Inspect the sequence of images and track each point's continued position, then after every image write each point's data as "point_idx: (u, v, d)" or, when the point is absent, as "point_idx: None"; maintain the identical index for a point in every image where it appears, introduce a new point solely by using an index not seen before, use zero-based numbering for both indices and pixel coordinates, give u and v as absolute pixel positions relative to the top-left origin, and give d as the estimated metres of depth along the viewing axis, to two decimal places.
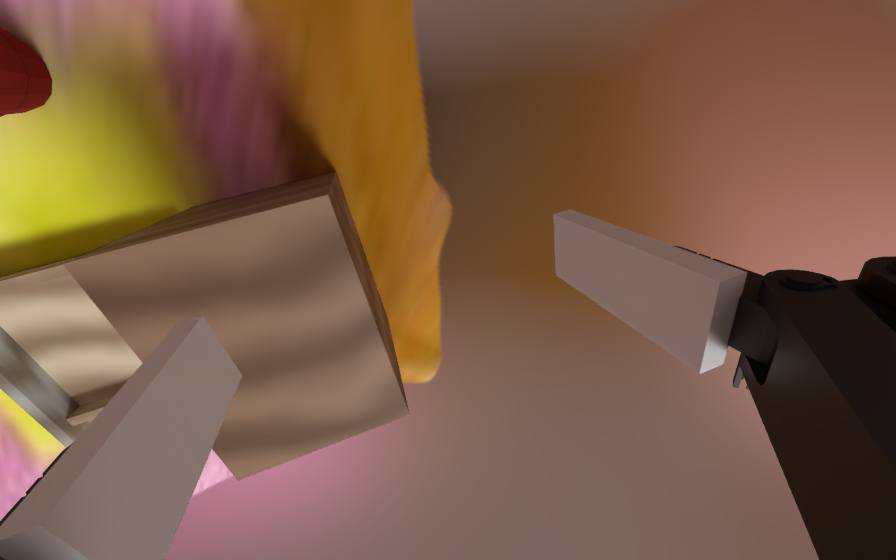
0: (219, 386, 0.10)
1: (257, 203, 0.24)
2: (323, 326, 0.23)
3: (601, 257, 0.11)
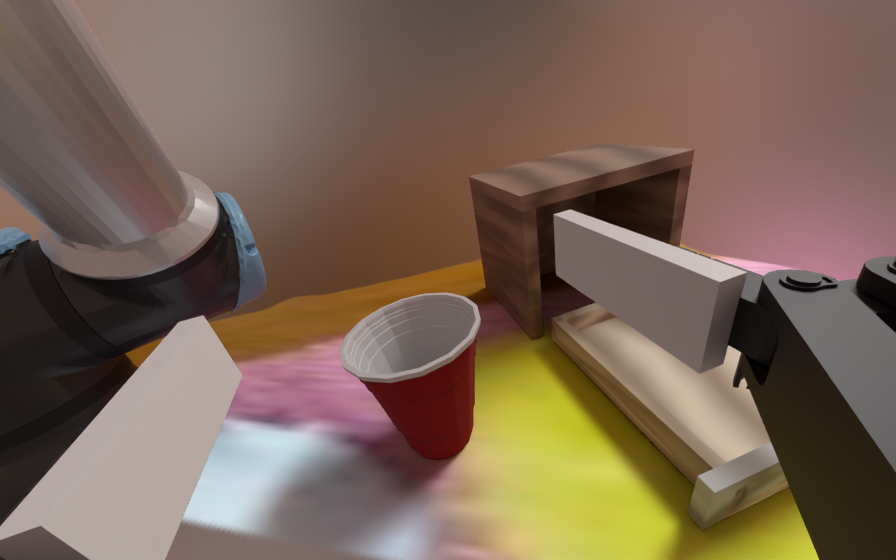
0: (219, 386, 0.10)
1: (489, 223, 0.41)
2: (541, 163, 0.41)
3: (601, 257, 0.11)
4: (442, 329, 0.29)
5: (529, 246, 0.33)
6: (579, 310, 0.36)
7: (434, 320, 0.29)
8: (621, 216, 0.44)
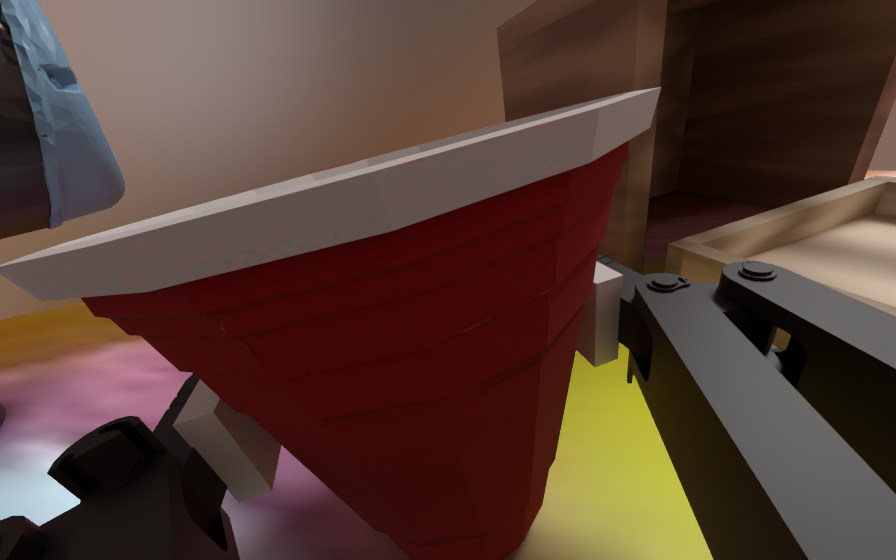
0: None
1: (535, 95, 0.23)
2: None
3: None
4: None
5: (643, 76, 0.15)
6: (721, 229, 0.19)
7: None
8: (747, 98, 0.27)
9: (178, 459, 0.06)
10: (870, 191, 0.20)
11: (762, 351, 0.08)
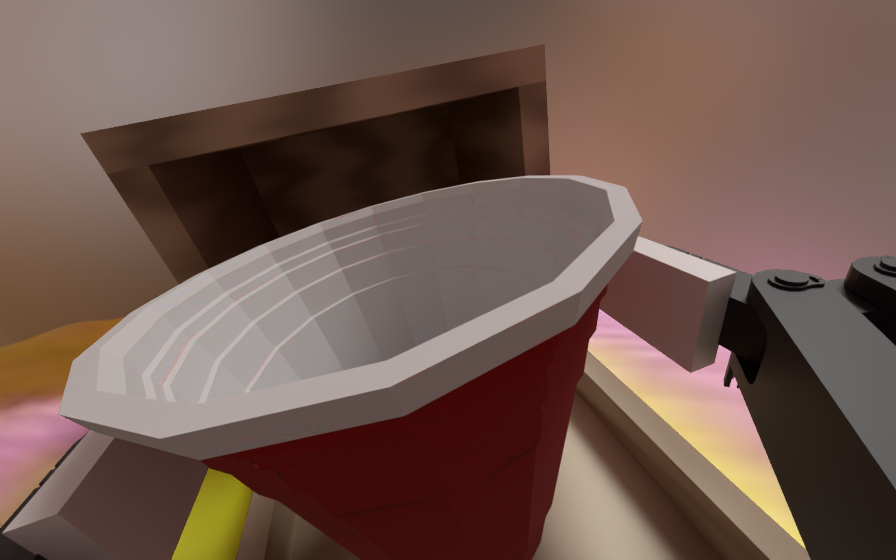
0: None
1: None
2: None
3: None
4: (466, 274, 0.12)
5: (174, 254, 0.15)
6: None
7: (446, 254, 0.12)
8: None
9: None
10: None
11: None
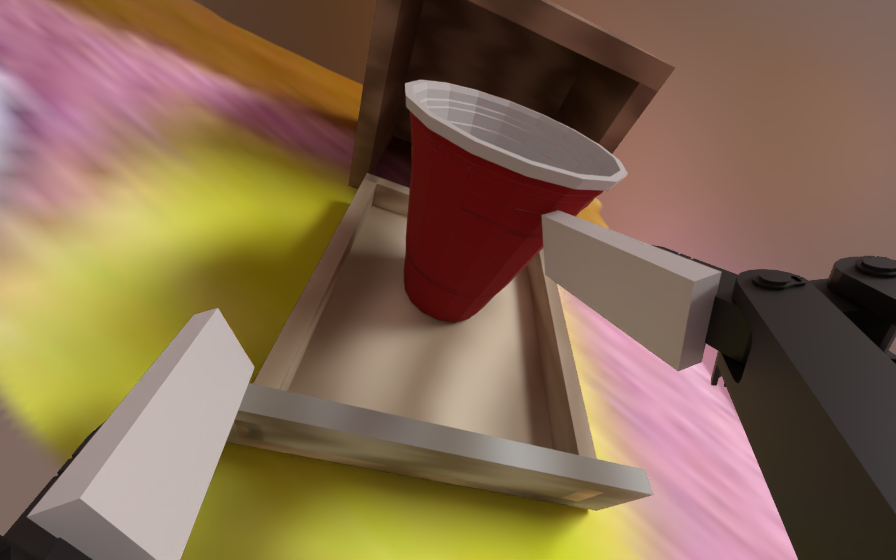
0: (234, 376, 0.11)
1: None
2: None
3: (586, 257, 0.11)
4: None
5: (379, 36, 0.22)
6: (406, 189, 0.26)
7: (528, 157, 0.20)
8: None
9: (36, 556, 0.05)
10: None
11: None
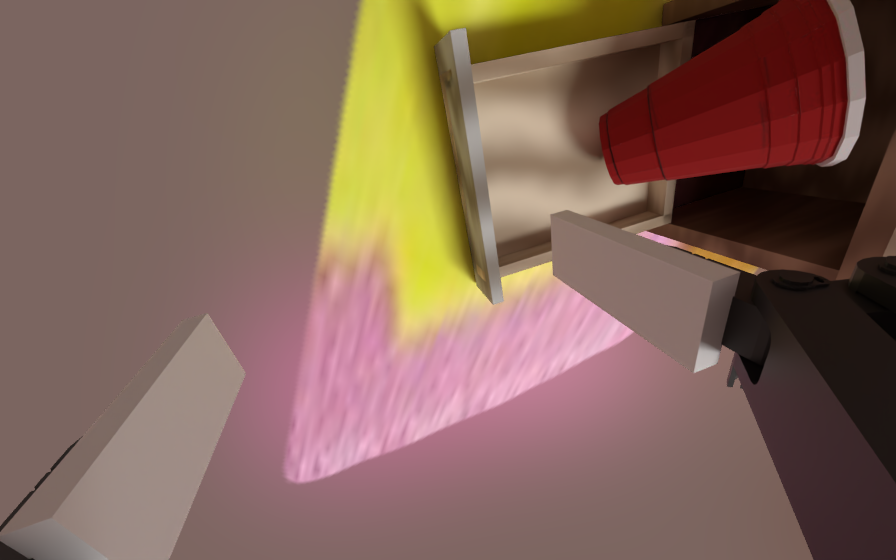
0: (223, 383, 0.10)
1: None
2: None
3: (597, 257, 0.11)
4: None
5: None
6: None
7: None
8: (795, 215, 0.29)
9: None
10: (662, 201, 0.31)
11: None
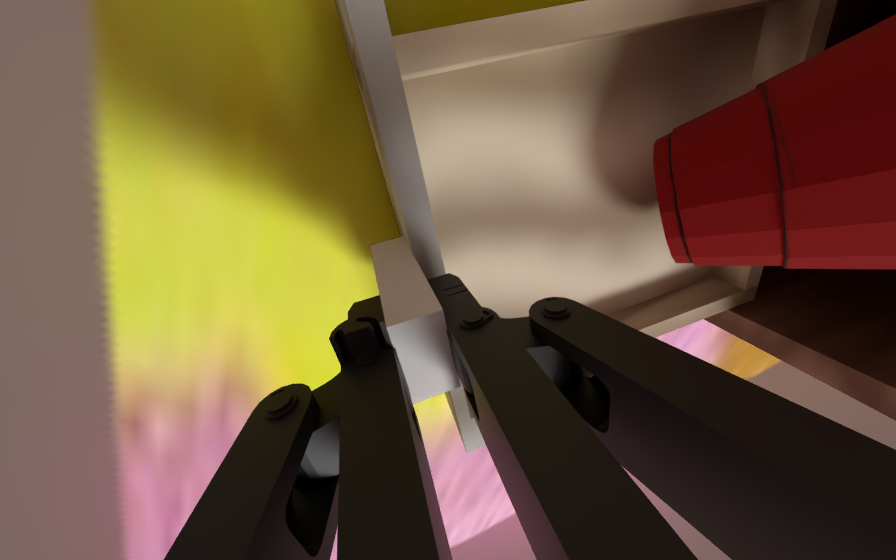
0: None
1: None
2: None
3: None
4: None
5: None
6: (816, 54, 0.14)
7: None
8: None
9: None
10: (744, 269, 0.19)
11: (578, 381, 0.08)
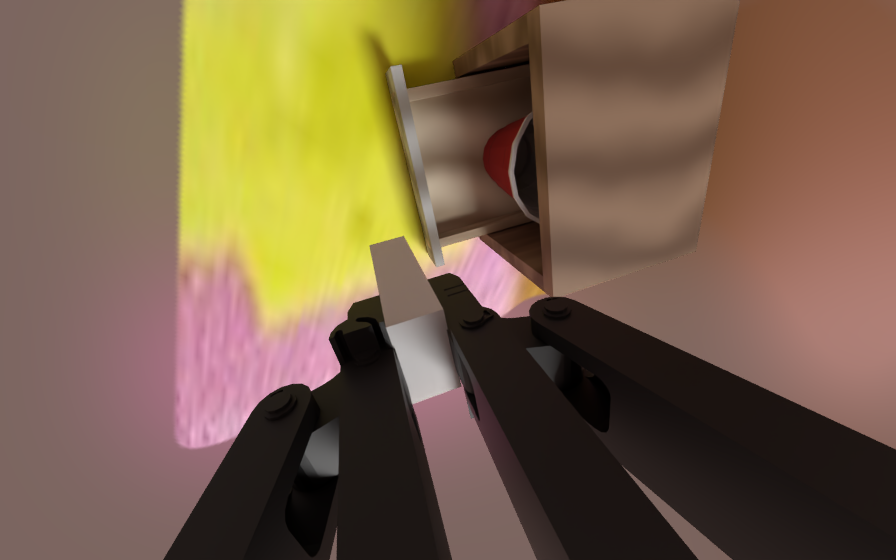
0: None
1: None
2: (680, 129, 0.24)
3: None
4: None
5: (502, 39, 0.23)
6: None
7: None
8: None
9: None
10: None
11: (578, 381, 0.08)
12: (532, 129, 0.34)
